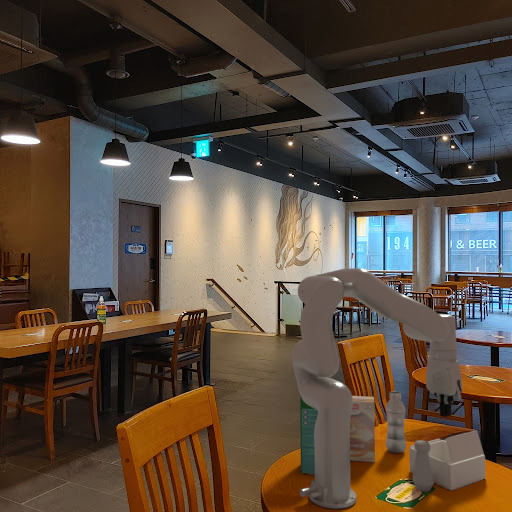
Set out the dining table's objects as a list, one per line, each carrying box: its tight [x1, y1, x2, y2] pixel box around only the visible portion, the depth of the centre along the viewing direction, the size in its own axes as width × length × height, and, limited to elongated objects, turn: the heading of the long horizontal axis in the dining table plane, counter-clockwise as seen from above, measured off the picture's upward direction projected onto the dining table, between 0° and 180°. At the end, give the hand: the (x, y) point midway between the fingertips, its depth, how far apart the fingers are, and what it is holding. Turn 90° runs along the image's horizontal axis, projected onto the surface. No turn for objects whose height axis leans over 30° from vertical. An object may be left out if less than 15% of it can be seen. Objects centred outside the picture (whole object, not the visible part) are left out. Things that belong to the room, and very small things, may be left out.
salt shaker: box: [412, 439, 435, 492], centre depth 134 cm, size 6×6×13 cm
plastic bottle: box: [385, 390, 407, 454], centre depth 162 cm, size 6×7×20 cm
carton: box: [409, 438, 486, 492], centre depth 142 cm, size 16×16×7 cm
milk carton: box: [299, 394, 318, 475], centre depth 148 cm, size 9×9×25 cm
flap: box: [445, 429, 485, 463], centre depth 137 cm, size 13×6×1 cm
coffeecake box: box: [350, 395, 376, 463], centre depth 157 cm, size 15×7×20 cm, turn 77°
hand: (445, 415), depth 143 cm, fingers closed
